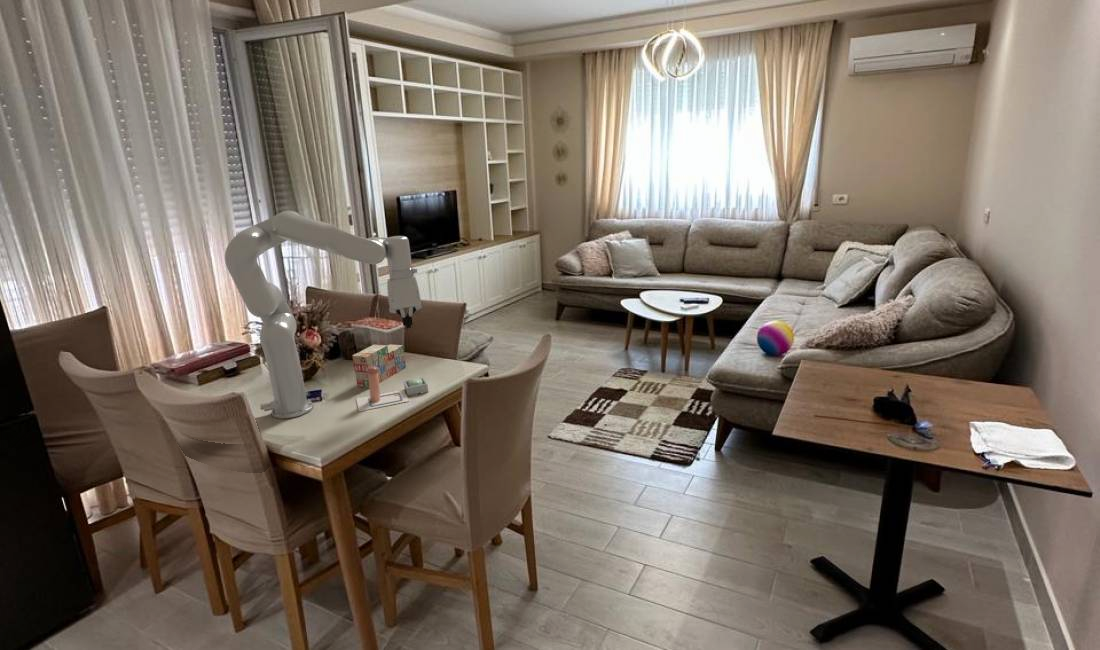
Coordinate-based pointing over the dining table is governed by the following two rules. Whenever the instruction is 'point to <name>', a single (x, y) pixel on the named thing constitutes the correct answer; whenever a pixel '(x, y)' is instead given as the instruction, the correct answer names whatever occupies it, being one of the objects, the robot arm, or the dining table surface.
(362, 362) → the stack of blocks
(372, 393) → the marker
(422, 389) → the button housing
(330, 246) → the robot arm
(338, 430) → the dining table surface
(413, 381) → the button
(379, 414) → the dining table surface
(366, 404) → the sheet
